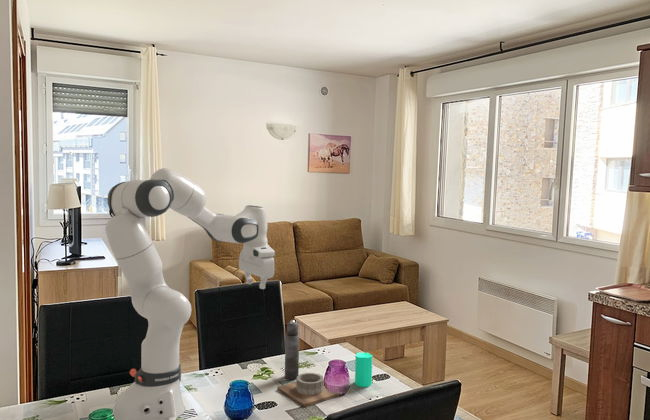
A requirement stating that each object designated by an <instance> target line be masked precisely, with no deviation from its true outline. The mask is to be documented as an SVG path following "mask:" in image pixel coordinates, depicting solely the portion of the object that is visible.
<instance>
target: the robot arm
mask: <svg viewBox="0 0 650 420" xmlns="http://www.w3.org/2000/svg"><path fill="white" fill-rule="evenodd" d="M206 202H207V193H206V191H205V190H204V189H203V188H202V187H201V186H200V185H199V184H198V183H196V182H195V181H193V180H192V179H190V178H189V177H188V176H186V175H184V174H181V173H179V172H177V171H175V170H172V169H171V168H166V167H165V168H159V169H158V170H156V171H154V173H152V174H151V176H150V177H149V179H134V180H133V179H132V180H128V181H121V182H119V183H117V184H115V185H113V186H112V187H111V189H110V190H109V191H108V194H107V206H108V213H109V216H110V217H111V218H110V219H108V221H107V222H106V224H105V229H104V230H105V233H106V237H107V241H108V243H109V244H108V245H109V247H110V250H111V251H112V255H113V256H114V258H115V261H116V262H117V265H118V266H119V268H120V271H121V273H122V274H123V277H124V278H125V280H126V283H127V287H128V290H129V293H130V298H131V303H132V306H133V308H134V310H135V312H137V314H138V315H140V316H141V317H143V318H144V319H147V323H148V327H147V331H146V335H145V338H144V339H143V340H142V342H141V347H140V348H141V350H140V351H141V352H140V353H141V355H140V356H141V357H140V358H141V367H140V368H139V369H138V370H137V369H136V368H131V369H130V370H129V374H130V376H131V377H133V378H134V382H132V384H130V385H129V386H128V387H127V388H125V390H123V391H122V392H120V393H119V395H118V396H117V397H116V399H115V402H114V407H113V410H112V411H113V415H114V417H115V420H177V418H179V417H180V416H181V415H182V414H184V411H185V405H184V402H183V396H182V390H181V380H182V368H181V366H182V365H181V363H180V346H181V345H180V344H181V343H180V342H181V336H182V332H183V329H184V326H185V324H187V322H188V321H189V320H190V318H191V315H192V311H193V310H192V303H191V302H190V301H189V299H188V297H186V296H185V295H184V294H183V293H181V292H180V291H177V290H176V289H173V288H170V286H169V285H167V282H166V280H165V277H164V274H163V267H164V265H163V261H162V259H161V257H160V255H159V253H158V250H157V248H156V246H155V244H154V242H153V240H152V238H151V235H150V234H149V232H148V229H147V226H146V224H147V223H146V221H147V218H153V217H154V218H155V217H158V216H161V215H163V214H164V213H166V212H167V211H168V210H169V209H171V210H173V211H174V212H175V213H178V214H180V215H182V216H185V217H187V218H188V219H189V220H191V221H192V222H193V223H195V224H196V225H199V226H200V227H201V228H202V229H203V230H204V231H205V233H206V234H207V235H208V237H209V238H210V239H211V240H213V241H214V242H226V243H232V244H242V245H243V246H242V249H241V252H240V253H239V256H238V268H239V271H241V272H244V276H245V280H246V281H245V282H246V284H247V285H252V284H253V282H254V281H253V278H252V275H254V276H256V277H259V278H260V283H258V286H259V287H258V288H259V289H261V290H265V289H266V284H267V282H268V279H272V278H274V275H275V258H274V257H275V255H276V251H275V250H274V249H273V248H272V247H271V246H270V245H269V244H268V243H269V242H268V237H267V232H268V215H267V211H266V209H265V208H264V207H262V206H258V205H248V204H247V205H246V206H245V207H244V209H243V210H241V212H239V213H237V214H235V215H229V214H224V213H223V214H222V213H214V212H212V211H211V210H210V209H208V208H207V207H206Z"/></svg>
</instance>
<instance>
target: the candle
mask: <svg viewBox="0 0 650 420" xmlns="http://www.w3.org/2000/svg"><path fill="white" fill-rule="evenodd" d="M354 368H355V370H354V385H356V386H357V387H360V388H361V387H362V388H367V387H370V386H372V384H373V383H372V379H373V378H372V377H373V355H372V354H371V353H370V352H357V353H356V354H355V365H354Z"/></svg>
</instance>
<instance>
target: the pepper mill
mask: <svg viewBox="0 0 650 420" xmlns="http://www.w3.org/2000/svg"><path fill="white" fill-rule="evenodd" d="M286 325H287V326H286V333H285V339H284V341H285V345H284V347H285V348H284V379H286V380H287V381H297V376H298V375H300V374H299V371H300V370H299V367H300V365H299V364H300V362H299V361H300V334H299V323H298V322H296V321H295V319H291V320H290V321H289V322H287V324H286Z"/></svg>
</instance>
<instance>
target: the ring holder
mask: <svg viewBox="0 0 650 420" xmlns="http://www.w3.org/2000/svg"><path fill="white" fill-rule="evenodd" d="M324 382H325V379H324V376H323V375H321V374H320V373H315V372H303V373H300V374H299V375H298V376H297V379H296V381H293V382H290V383H287V384H283V385H279V386H277V387H276V390H277V391H279V392H280V393H281V394H283V395H285V396H286V397H288V398H289V399H291V401H294V402H295V403H297V404H298V405H300V406H302V407H303V408H306V407H310V406H312V405H316V404H318V403H322V402H325V401H329V400H331V399H334V398H337V397H340V396H339V395H340V393H333V392H329V391H328V390H327V389H326V388H325V386H324Z"/></svg>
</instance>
